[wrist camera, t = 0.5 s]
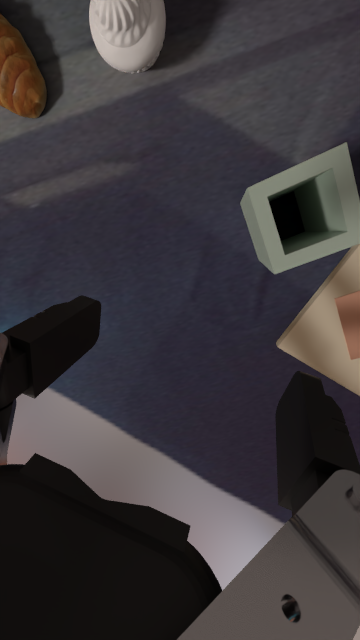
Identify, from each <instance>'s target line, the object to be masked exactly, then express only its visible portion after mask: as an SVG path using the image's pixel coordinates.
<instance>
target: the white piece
mask: <svg viewBox="0 0 360 640" xmlns="http://www.w3.org/2000/svg"><path fill="white" fill-rule="evenodd" d="M89 21H90V28H91V33H92V37H93V40H94V43H95V45H96V48H97V50H98V51H99V53H100V55H101V56H102V57H103V59H104V60H105V61H106V62H107V63H108V64H109V65H111V66H112V67H114V68H115V69H117V70H120V71H123V72H126V73H132V74H135V73H141V72H144V71H146V70H148V68H151V66H153V64H154V63H155V61H156V60H157V58H158V56H159V52H160V51H161V49H162V47H163V41H164V38H165V36H164V35H165V27H166V13H165V6H164V1H163V0H91V2H90V9H89Z"/></svg>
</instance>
